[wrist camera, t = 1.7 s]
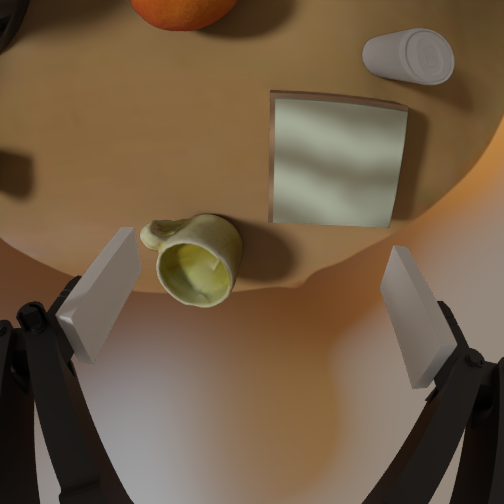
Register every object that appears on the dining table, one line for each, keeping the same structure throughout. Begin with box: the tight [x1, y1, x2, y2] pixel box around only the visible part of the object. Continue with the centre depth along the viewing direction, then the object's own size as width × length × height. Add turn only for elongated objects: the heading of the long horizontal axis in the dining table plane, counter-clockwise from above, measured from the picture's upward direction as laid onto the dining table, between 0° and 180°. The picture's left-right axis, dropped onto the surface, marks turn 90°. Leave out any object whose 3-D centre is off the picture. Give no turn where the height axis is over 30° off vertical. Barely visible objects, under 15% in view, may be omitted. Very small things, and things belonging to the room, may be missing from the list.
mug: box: [140, 214, 243, 307], centre depth 37 cm, size 12×10×10 cm
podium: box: [268, 90, 409, 228], centre depth 31 cm, size 14×14×5 cm
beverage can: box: [362, 28, 455, 85], centre depth 22 cm, size 5×5×12 cm
